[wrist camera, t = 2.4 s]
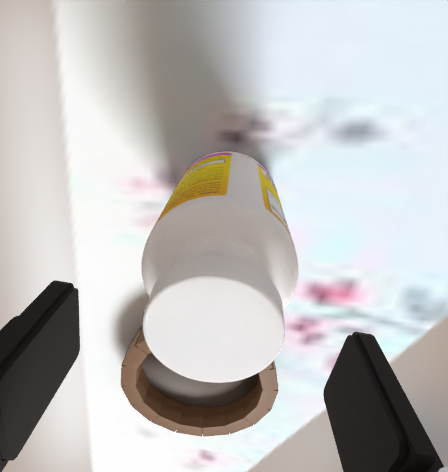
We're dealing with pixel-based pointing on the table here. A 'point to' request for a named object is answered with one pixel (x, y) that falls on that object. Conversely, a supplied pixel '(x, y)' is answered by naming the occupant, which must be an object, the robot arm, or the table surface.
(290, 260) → the supplement bottle
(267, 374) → the ring holder
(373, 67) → the table surface
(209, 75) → the table surface
